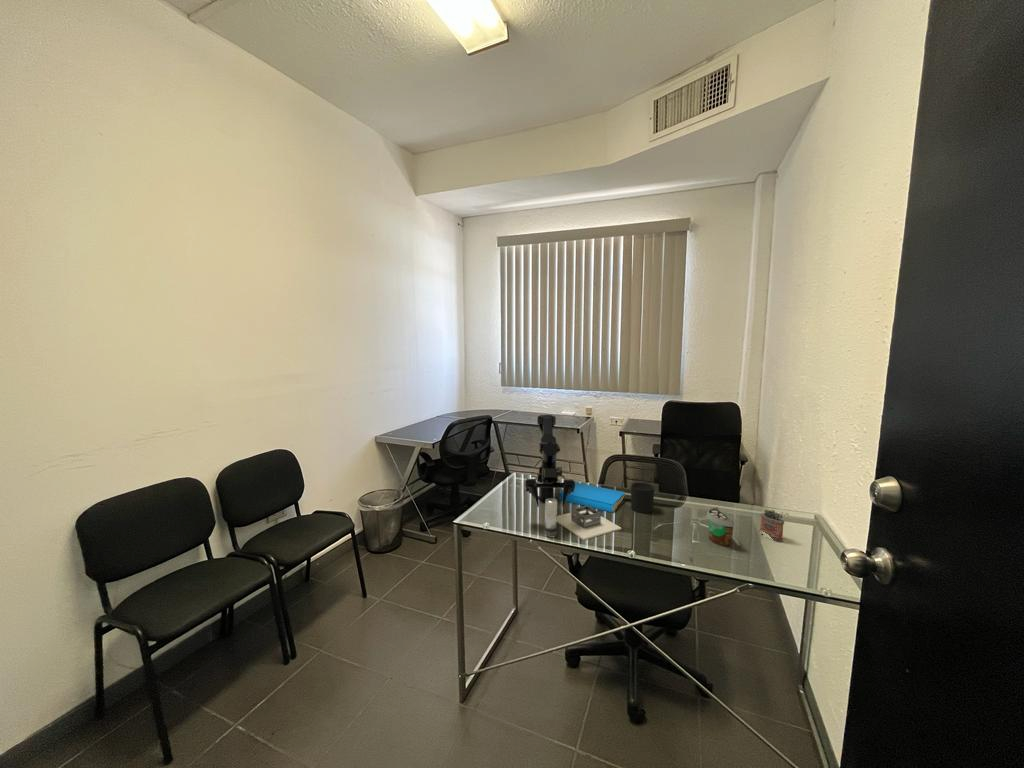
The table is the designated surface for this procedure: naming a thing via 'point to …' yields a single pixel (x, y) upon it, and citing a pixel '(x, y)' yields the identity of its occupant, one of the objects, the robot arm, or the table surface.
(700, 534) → the table surface
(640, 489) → the pen holder
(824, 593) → the table surface
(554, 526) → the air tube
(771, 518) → the lighter
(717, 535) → the food container
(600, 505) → the book
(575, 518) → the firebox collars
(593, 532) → the tile
